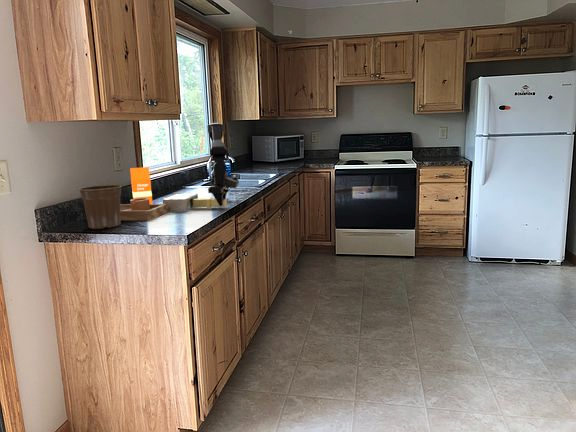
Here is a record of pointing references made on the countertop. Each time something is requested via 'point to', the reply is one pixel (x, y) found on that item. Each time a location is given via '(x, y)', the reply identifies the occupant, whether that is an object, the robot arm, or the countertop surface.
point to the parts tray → (143, 212)
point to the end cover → (208, 203)
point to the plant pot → (102, 205)
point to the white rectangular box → (180, 202)
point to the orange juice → (141, 183)
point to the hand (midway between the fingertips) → (222, 205)
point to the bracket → (139, 204)
